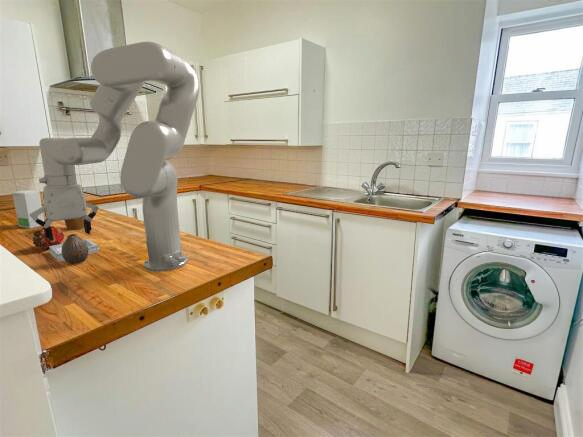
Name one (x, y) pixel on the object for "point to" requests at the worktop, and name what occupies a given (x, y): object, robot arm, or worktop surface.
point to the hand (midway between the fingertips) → (69, 236)
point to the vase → (74, 249)
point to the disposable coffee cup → (75, 223)
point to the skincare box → (27, 207)
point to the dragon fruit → (45, 242)
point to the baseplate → (56, 249)
